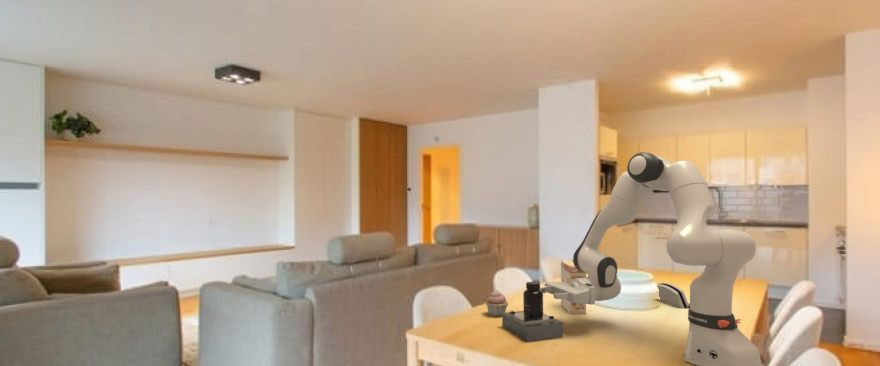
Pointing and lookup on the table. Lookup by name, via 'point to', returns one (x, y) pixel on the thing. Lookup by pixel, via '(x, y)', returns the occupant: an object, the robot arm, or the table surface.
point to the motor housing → (532, 326)
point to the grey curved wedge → (672, 295)
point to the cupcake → (496, 304)
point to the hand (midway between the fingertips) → (547, 293)
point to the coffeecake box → (567, 276)
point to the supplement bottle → (533, 301)
